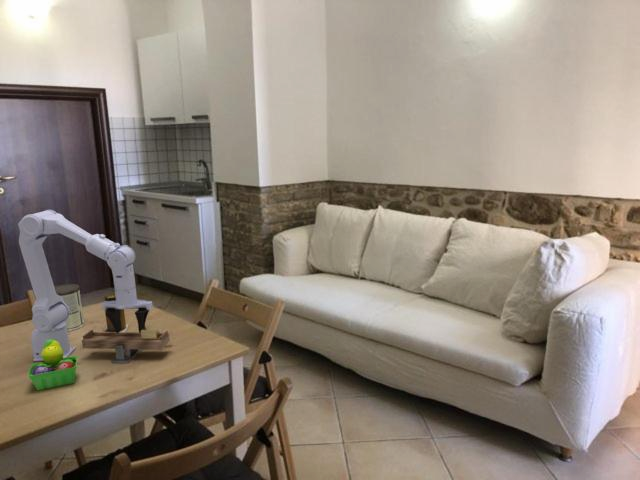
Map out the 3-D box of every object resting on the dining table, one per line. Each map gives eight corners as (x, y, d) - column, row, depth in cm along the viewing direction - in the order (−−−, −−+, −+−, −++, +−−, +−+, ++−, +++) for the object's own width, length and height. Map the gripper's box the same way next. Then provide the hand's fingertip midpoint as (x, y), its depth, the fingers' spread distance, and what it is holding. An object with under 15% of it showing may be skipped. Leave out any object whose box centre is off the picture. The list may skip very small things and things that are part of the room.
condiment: (129, 324, 176) (125, 291, 173) (125, 333, 168) (121, 299, 165) (107, 326, 175) (102, 293, 172) (102, 335, 166) (97, 301, 164)
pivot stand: (111, 363, 146) (109, 346, 145) (128, 348, 156) (126, 332, 155) (128, 363, 145) (126, 346, 144) (143, 348, 156) (141, 332, 154)
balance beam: (82, 350, 148) (81, 337, 147) (94, 341, 154) (93, 328, 154) (161, 352, 146) (160, 338, 145) (170, 342, 152) (168, 329, 151)
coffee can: (46, 328, 175) (40, 289, 172) (75, 319, 183) (69, 282, 180) (61, 334, 169) (55, 294, 166) (90, 324, 177) (85, 286, 174)
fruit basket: (30, 394, 130) (23, 353, 127) (34, 379, 138) (28, 341, 135) (79, 384, 134) (73, 345, 132) (80, 370, 142) (74, 333, 140)
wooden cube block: (142, 342, 147) (140, 329, 146) (147, 337, 151) (146, 324, 150) (156, 342, 147) (155, 330, 146) (162, 337, 151) (161, 324, 150)
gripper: (94, 292, 143) (100, 337, 146) (143, 292, 141) (148, 337, 144) (106, 285, 150) (112, 327, 153) (153, 284, 148) (158, 327, 151)
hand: (130, 331), depth 149 cm, fingers open, 7 cm apart
